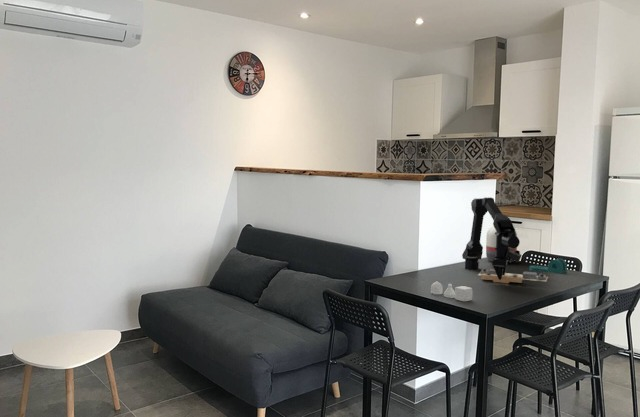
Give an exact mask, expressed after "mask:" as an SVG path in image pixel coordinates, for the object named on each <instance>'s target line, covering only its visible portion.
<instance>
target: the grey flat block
mask: <svg viewBox="0 0 640 417" xmlns="http://www.w3.org/2000/svg"><path fill="white" fill-rule="evenodd" d="M522 275H523V278H527V279H536V278H537V276H538V280H545V278H546V277H547V276H546V274H545V273H539V274H538V272H536V271H535V272H534V271H523V272H522Z"/></svg>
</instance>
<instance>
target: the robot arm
mask: <svg viewBox="0 0 640 417" xmlns="http://www.w3.org/2000/svg"><path fill="white" fill-rule="evenodd" d="M470 205H471V211H472V213H473V218H472V226H471V232H470V233H471V234H470V239H469V241H468V242H467V244H466V246H465V249H464V250H463V253H462V254H461V255H462V256H461V258H462V260H465V261H464V264H465V265H464V269H466V270H470V271H473V270H474V271H479V270H480V262H479V260H482V256H483V252H484V251H483V250H484V247H483V245H482V243H481V236H482V230H483V222H484V217H485V215H486V214H487V213H489V215H490V217H491V218H492V219H493V222H492V226H493V225H494V228H495V229H496V232H495V234H496V247H495V250H496V256H495V259H494V260H493V261H492V262H491V265H492V267H493V269H495V272H496V274H497V276H498V279H499V280H501V279H502V275H505V273H506V270H507V267H508V265H509V264H511V263H512V262H511V259H512V260H514V261H513V262H516V263H519V262H520V260H521V257H522V253H521V252H520V250H518V249H517V250H516V251H515V252H514V251H510V248H516V247H517V248H518V247H519V245H520V243H521V242H520V239H519V238H518V236H517V237H516V233H517V232H516V233H515V231H516V229H515V226H514V224H513V221H512V220H511V219H510V218H509V216H507V215H505V214H503V212H502V211H501V210H500V208H499V207H498V205H497V203H496V202H495V198H493V197H482V198H473V199H472V201H471V202H470ZM509 247H510V248H509ZM508 260H509V261H508ZM510 262H511V263H510Z"/></svg>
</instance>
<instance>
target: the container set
mask: <svg viewBox="0 0 640 417" xmlns="http://www.w3.org/2000/svg"><path fill="white" fill-rule="evenodd" d="M432 293H433V295H443V297H444V298H448V299H449V298H450V299H453V298H454V299H455V300H457V301H461V302H468V301H473V288H472V287H469V286H464V285H461V286H455V288H454V289H453V284H452V283H448V284H447V288H446V289H445V290H444V292H443V284H441V283H440V282H439V281H438V280H437V281H435V282H433V283H432V284H431V285H430V294H432Z"/></svg>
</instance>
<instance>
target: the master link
mask: <svg viewBox="0 0 640 417" xmlns="http://www.w3.org/2000/svg"><path fill="white" fill-rule="evenodd" d="M480 278H481V280H484V281H485V280H488V281H489V280H490V281H492V282H493V283H492V284H493V285H503V286H510V283H519V284H520V283H521V284H522V282H523V279H522V277H518V276H517V275H513V276H506V275H502V279H501V280H499V279H498V276H497V275H494V274H490V273H487V274H482V275H481V276H480Z"/></svg>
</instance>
